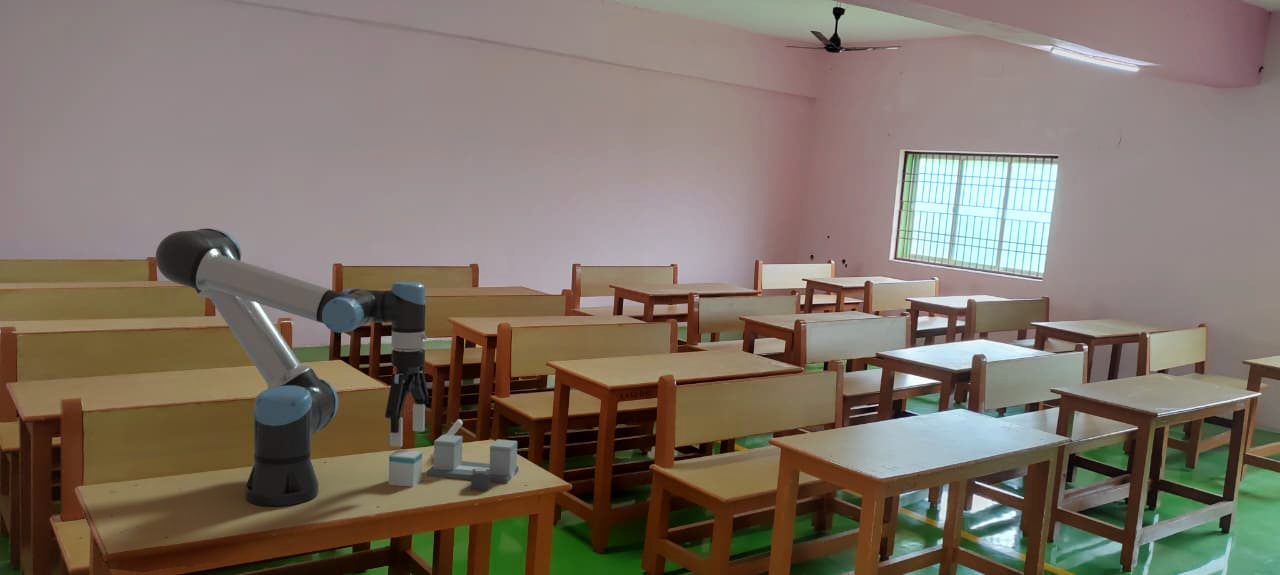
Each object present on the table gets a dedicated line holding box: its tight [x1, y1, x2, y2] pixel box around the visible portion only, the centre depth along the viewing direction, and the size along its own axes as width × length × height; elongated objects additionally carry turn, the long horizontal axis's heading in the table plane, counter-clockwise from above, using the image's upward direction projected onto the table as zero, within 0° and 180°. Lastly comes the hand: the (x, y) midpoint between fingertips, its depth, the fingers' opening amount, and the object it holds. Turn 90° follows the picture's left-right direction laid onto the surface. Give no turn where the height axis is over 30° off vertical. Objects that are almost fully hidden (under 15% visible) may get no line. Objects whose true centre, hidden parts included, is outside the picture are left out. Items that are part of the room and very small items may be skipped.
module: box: [388, 449, 423, 488], centre depth 218 cm, size 6×5×7 cm
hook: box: [431, 418, 464, 459], centre depth 240 cm, size 8×12×7 cm
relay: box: [470, 468, 490, 492], centre depth 217 cm, size 4×4×5 cm
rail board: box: [426, 434, 519, 484], centre depth 227 cm, size 20×10×8 cm, turn 82°
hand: (407, 438), depth 217 cm, fingers open, 13 cm apart
